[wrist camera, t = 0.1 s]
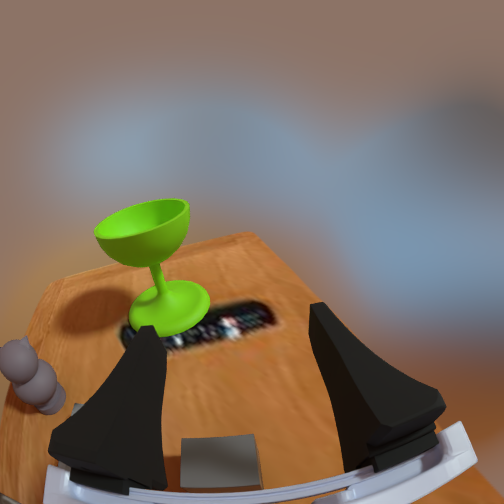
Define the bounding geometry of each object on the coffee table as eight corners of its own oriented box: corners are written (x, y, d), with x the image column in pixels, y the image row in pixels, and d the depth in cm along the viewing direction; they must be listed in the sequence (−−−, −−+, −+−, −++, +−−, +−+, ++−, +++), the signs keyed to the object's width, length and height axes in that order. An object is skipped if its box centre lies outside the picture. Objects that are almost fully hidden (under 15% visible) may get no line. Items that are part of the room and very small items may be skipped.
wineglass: (221, 284, 54) (204, 195, 45) (190, 344, 40) (156, 238, 32) (153, 280, 58) (130, 202, 49) (113, 328, 44) (74, 239, 36)
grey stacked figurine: (31, 422, 25) (-18, 370, 19) (34, 386, 31) (-6, 334, 25) (71, 415, 27) (22, 359, 22) (71, 377, 34) (32, 321, 28)
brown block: (264, 493, 20) (259, 484, 17) (196, 497, 19) (180, 487, 17) (258, 451, 24) (253, 433, 22) (196, 455, 24) (181, 438, 22)
